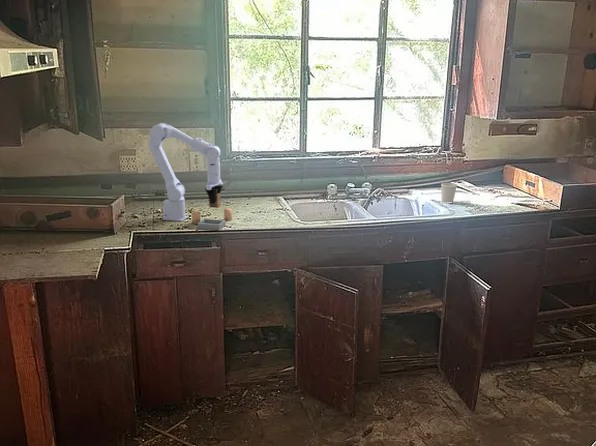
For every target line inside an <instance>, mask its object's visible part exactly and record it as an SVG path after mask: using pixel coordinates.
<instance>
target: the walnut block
mask: <svg viewBox="0 0 596 446" xmlns="http://www.w3.org/2000/svg"><path fill="white" fill-rule="evenodd" d="M208 201H209V205H208V206H209V208H216V209H219V207H221V206H222V205H221V202H222V201H221V192H220V193H217V194H216V202H215V204H214V203H210V200H209V199H208Z"/></svg>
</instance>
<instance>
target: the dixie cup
mask: <svg viewBox="0 0 596 446" xmlns="http://www.w3.org/2000/svg"><path fill="white" fill-rule="evenodd" d="M440 185H441V186H440V187H441V189H440V190H441V202H442V201H443V202H453V203H454V199H455V195H456V190H457V187H458V184H457V183H455V182H454V183H453V182H442V183H441V184H440Z"/></svg>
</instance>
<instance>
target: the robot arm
mask: <svg viewBox="0 0 596 446" xmlns="http://www.w3.org/2000/svg"><path fill="white" fill-rule="evenodd" d="M148 135H149V138H148V139H149V141H148V148H149V150H150V152H151V154H152V156H153V158H154V161H155V163H156V165H157V167H158V169H159V171H160V174H161V176H162V177H163V180H164V182H165V189H166V195H167V198H168V199H167V198H166V199H165V200H164V201H163V205H162V209H163V211H162V212H163V218H162V219H163V220H166V221H177V222H183V221H184V220H185V219H188V218H189V215H186V201H185V200H186V199H185V197H184V195H185V194H186V188H185V186H184V185H183V184H182V183H181V182H180V180H179V179H178V178H177V177H176V173H175V172H174V170H173V167H172V166H171V164H170V162H169V160H168V157H167V155H166V152H165V151H164V149H163V146H162V145H163V144H164V141H165V139H170V138H171V139H172V138H175V139H176V140H179V141H180V142H183V143H185V144H187V145H189V146H190V148H191V150H193V151H195V152H197V153H199V154H200V155H203V156H205V157H206V160H207V163H206V166H207V168H206V169H207V171H206V172H207V173H206V174H207V182H206V187H205V189H204V190H205V192H206V193H207V196H208V201H209V200H210V203H214V204H215V202H216V194H217V193H221V191H222V189H223V187H224V182H223V181H222V178H221V163H220V156H221V152H222V151H221V149H220V147H219V146H218V145H214V144H212V143H211V142H207V141H205V140H203V138H202V137H195V138H193V137H191V136H189V134H187V133H185V132H183V131H181V130H179V129H178V128H176V127H174V126H172V125H170V124H168V123H165V122H160V123H158V124H156V125H153V126H152V127H151V129H150V131H149V132H148Z"/></svg>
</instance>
